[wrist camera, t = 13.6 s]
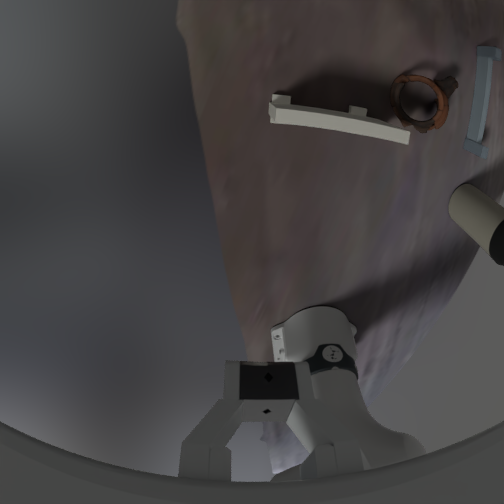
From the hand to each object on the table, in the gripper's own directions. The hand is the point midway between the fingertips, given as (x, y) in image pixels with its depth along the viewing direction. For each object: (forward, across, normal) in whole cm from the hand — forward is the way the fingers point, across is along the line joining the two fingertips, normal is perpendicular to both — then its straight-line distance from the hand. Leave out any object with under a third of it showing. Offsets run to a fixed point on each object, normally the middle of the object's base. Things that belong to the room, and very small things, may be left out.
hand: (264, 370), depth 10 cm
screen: (+35, -10, -6) cm, 37 cm away
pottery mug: (+36, -24, -12) cm, 45 cm away
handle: (+35, -37, -16) cm, 53 cm away
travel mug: (+35, -40, +4) cm, 54 cm away
